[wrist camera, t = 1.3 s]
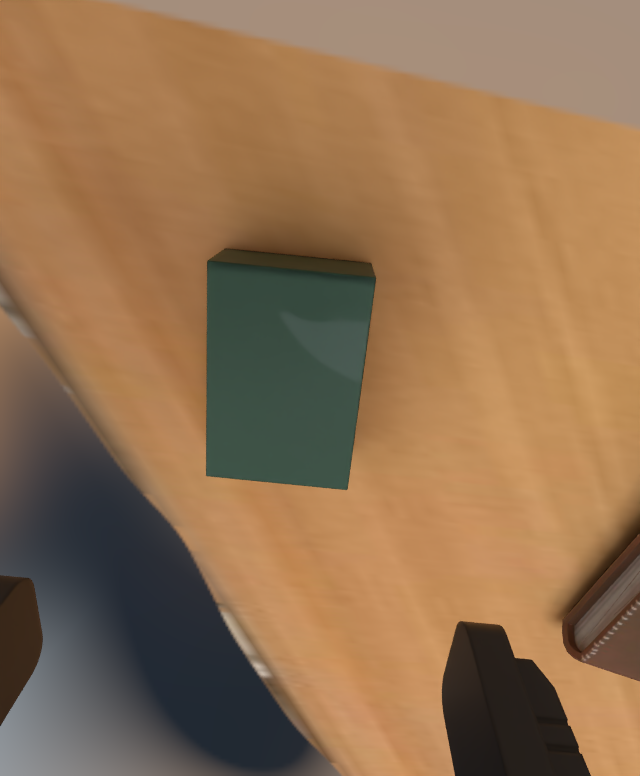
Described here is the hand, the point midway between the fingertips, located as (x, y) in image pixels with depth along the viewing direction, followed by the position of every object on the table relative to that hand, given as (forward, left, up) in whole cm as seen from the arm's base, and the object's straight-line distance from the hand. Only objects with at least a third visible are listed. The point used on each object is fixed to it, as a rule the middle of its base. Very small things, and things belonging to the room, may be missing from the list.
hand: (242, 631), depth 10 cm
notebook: (0, 0, -14) cm, 14 cm away
